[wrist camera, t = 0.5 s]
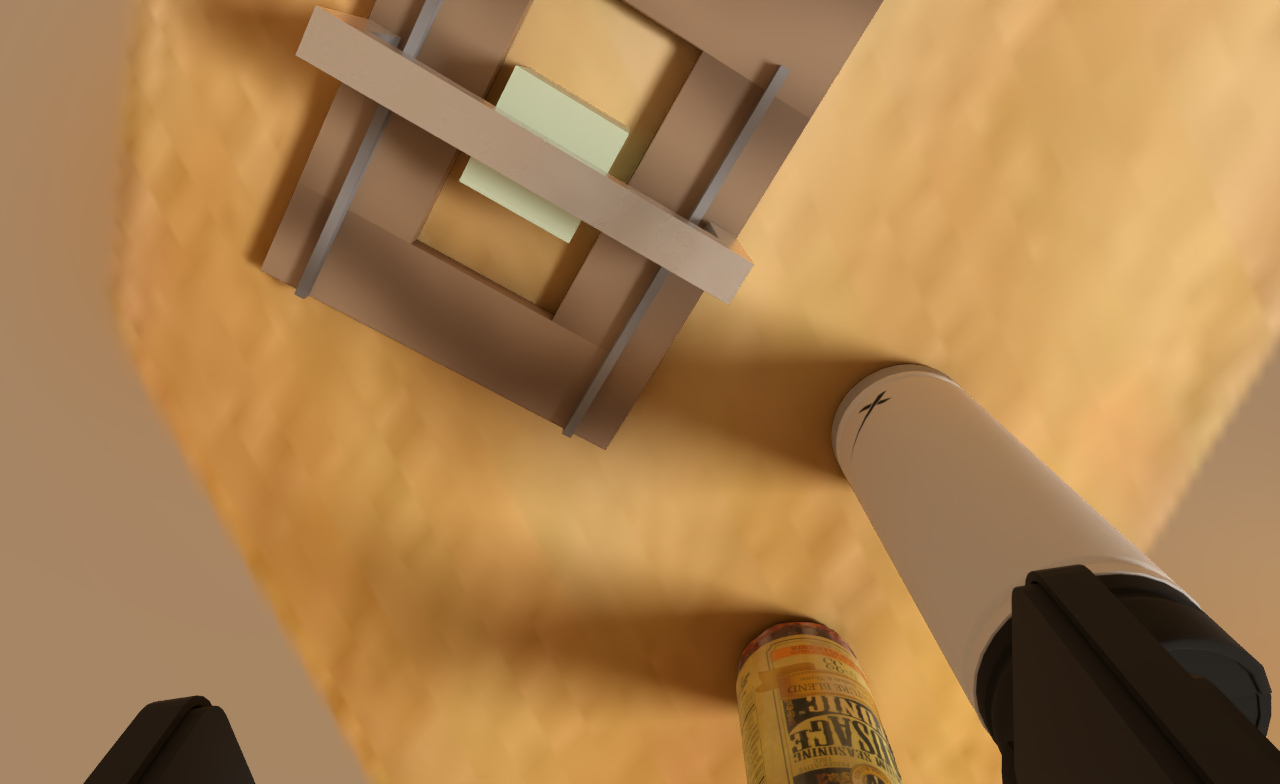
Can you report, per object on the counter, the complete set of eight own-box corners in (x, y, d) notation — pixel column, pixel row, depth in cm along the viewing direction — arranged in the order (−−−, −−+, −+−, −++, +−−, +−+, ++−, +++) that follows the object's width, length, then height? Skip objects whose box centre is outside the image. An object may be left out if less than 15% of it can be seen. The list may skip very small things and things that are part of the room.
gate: (371, 19, 30) (315, 5, 25) (734, 235, 33) (754, 264, 28) (353, 60, 31) (295, 55, 25) (712, 269, 33) (728, 304, 28)
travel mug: (815, 376, 36) (1012, 682, 18) (966, 351, 36) (1330, 637, 17) (828, 501, 39) (1016, 893, 20) (971, 479, 38) (1298, 856, 20)
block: (530, 68, 32) (515, 64, 28) (629, 127, 33) (629, 133, 29) (480, 169, 33) (458, 181, 29) (576, 224, 34) (568, 243, 30)
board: (598, -494, 26) (597, -529, 25) (996, -193, 29) (1016, -208, 28) (270, 265, 35) (253, 273, 33) (606, 441, 37) (605, 456, 36)
